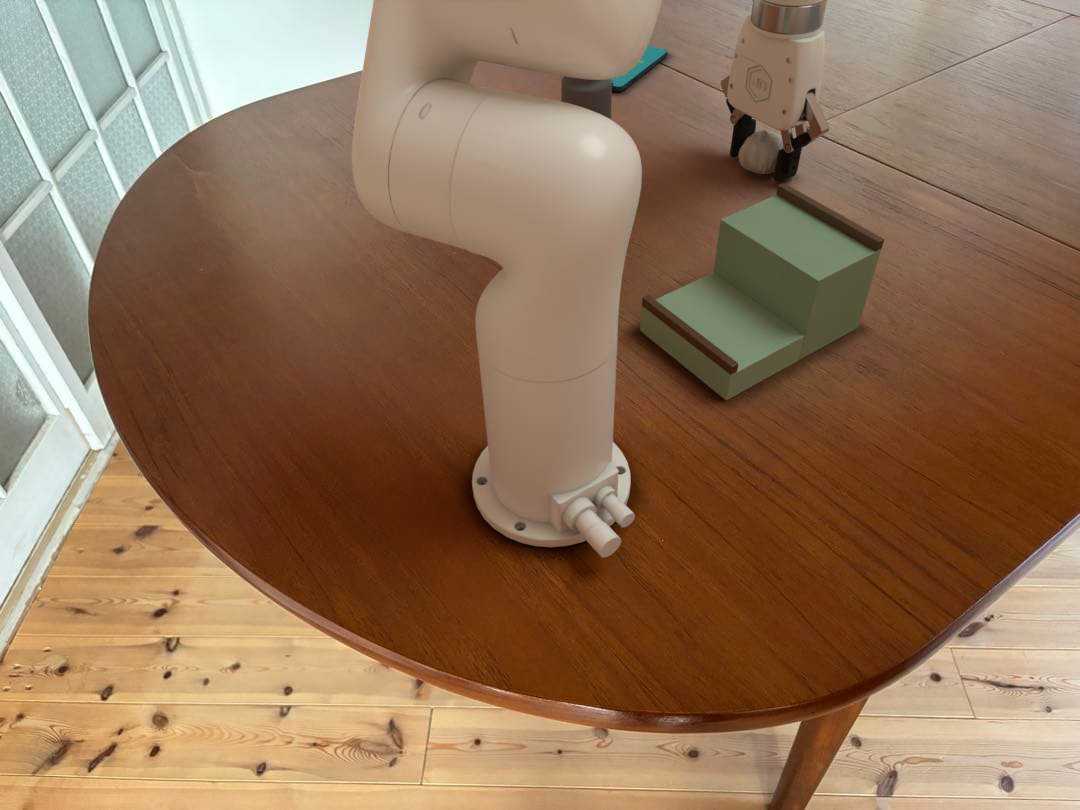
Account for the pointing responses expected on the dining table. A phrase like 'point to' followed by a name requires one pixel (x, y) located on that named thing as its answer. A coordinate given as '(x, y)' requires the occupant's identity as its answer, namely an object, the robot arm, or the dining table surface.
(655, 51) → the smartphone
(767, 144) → the garlic
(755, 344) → the shelf
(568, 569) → the dining table surface
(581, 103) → the bottle
